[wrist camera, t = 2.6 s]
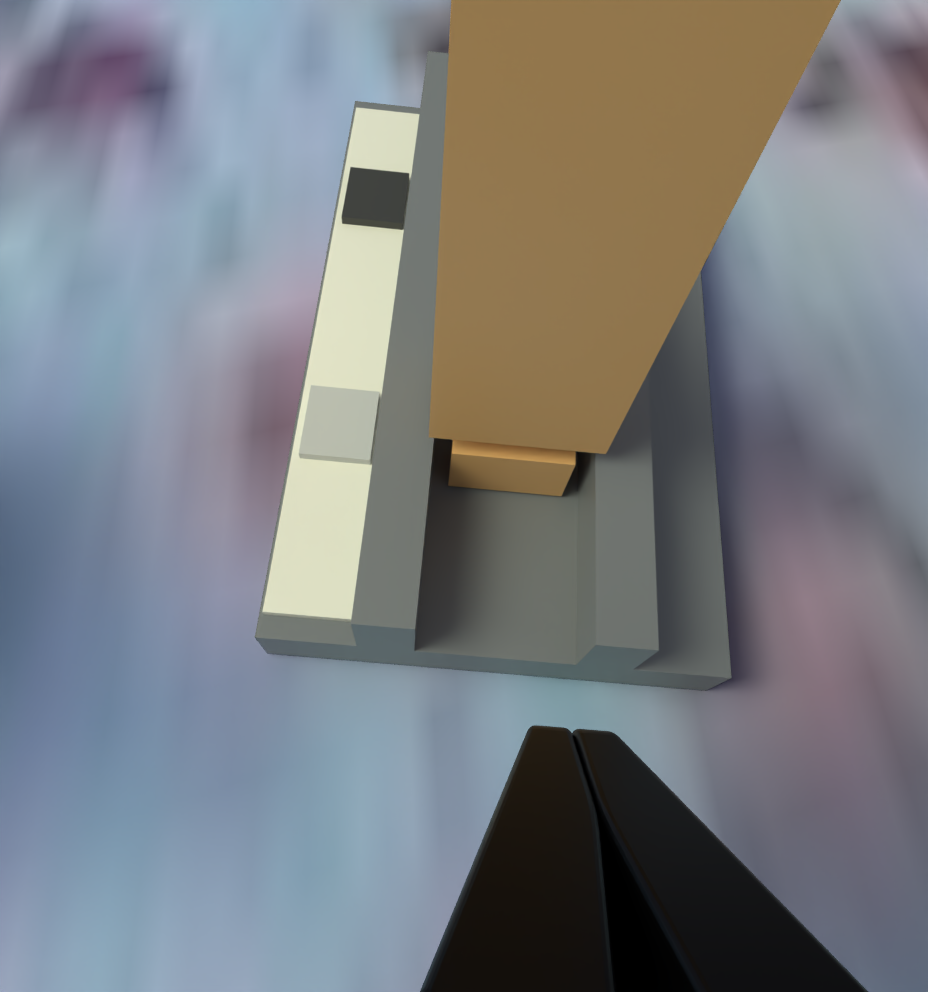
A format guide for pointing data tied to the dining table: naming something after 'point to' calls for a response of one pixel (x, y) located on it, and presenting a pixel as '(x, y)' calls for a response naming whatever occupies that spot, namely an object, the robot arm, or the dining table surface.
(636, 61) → the switch tab
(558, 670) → the switch housing
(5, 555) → the dining table surface
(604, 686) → the dining table surface
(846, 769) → the dining table surface
